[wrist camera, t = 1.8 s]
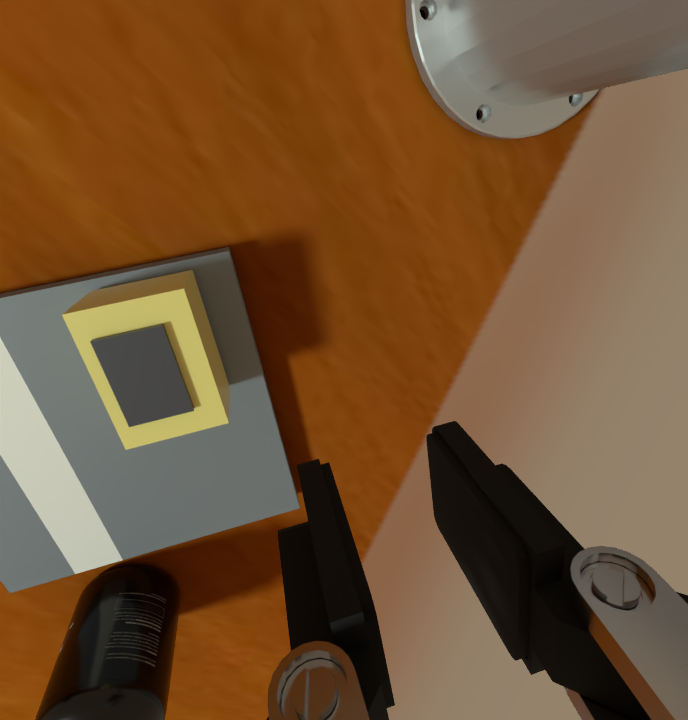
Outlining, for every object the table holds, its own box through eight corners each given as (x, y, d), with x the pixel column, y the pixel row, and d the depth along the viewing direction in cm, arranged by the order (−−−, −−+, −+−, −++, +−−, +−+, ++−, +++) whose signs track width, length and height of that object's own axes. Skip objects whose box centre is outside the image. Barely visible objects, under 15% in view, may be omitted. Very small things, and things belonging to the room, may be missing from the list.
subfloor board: (229, 246, 24) (228, 251, 22) (297, 493, 31) (299, 508, 30) (-156, 325, 21) (-183, 335, 20) (20, 573, 29) (9, 593, 28)
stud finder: (192, 269, 22) (183, 290, 18) (229, 387, 25) (228, 426, 21) (90, 291, 21) (59, 316, 18) (141, 409, 24) (124, 453, 21)
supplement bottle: (58, 591, 30) (-40, 823, 19) (146, 546, 30) (97, 750, 20) (119, 642, 33) (64, 865, 23) (199, 600, 33) (182, 802, 23)
